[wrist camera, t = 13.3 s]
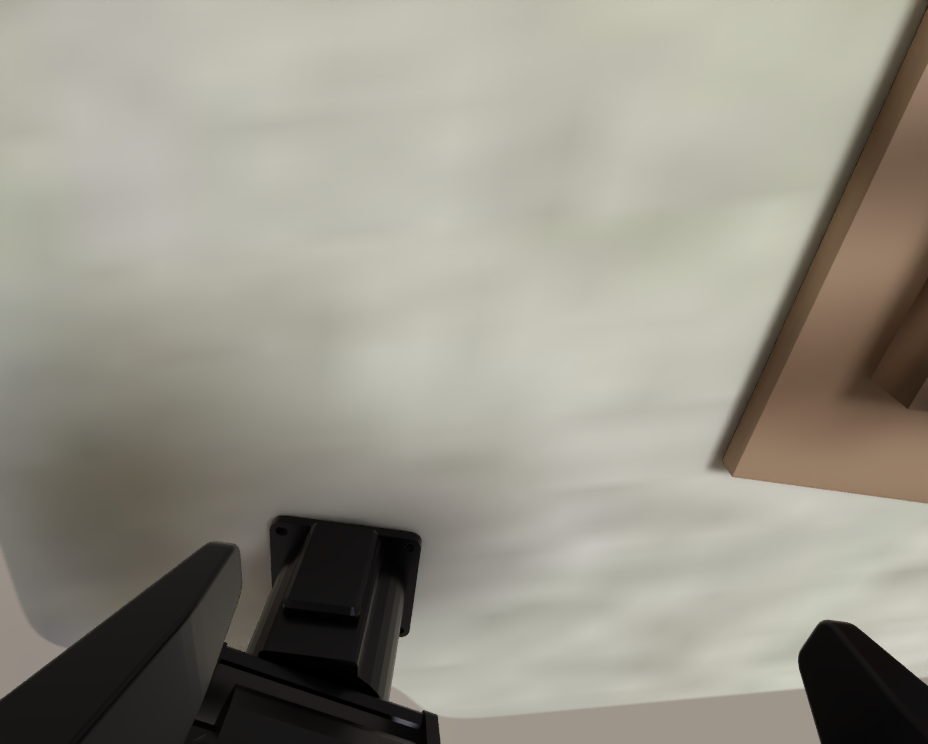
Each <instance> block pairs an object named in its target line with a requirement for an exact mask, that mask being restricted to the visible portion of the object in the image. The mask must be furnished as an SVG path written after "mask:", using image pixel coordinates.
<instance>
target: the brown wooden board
mask: <svg viewBox="0 0 928 744" xmlns="http://www.w3.org/2000/svg"><path fill="white" fill-rule="evenodd" d="M722 461H723V462H724V464H725V466H726V467H727V469H728V471H729V472H730V474H731V476H732V477H737V478H745V479H752V480H759V481H767V482H774V483H781V484H789V485H796V486H803V487H811V488H818V489H825V490H833V491H840V492H847V493H855V494H862V495H870V496H877V497H884V498H892V499H899V500H906V501H914V502H921V503H928V8H927V10H926V12H925V15H924V17H923V19H922V21H921V24H920V26H919V28H918V30H917V32H916V35H915V37H914V39H913V41H912V43H911V46H910V48H909V50H908V52H907V54H906V57H905V59H904V61H903V63H902V65H901V68H900V70H899V72H898V74H897V76H896V79H895V81H894V83H893V85H892V87H891V90H890V92H889V94H888V96H887V98H886V101H885V103H884V105H883V107H882V110H881V112H880V114H879V116H878V118H877V121H876V123H875V125H874V127H873V129H872V132H871V134H870V136H869V138H868V140H867V143H866V145H865V147H864V149H863V151H862V154H861V156H860V158H859V160H858V162H857V165H856V167H855V169H854V171H853V173H852V176H851V178H850V180H849V182H848V184H847V187H846V189H845V191H844V193H843V196H842V198H841V200H840V202H839V204H838V207H837V209H836V211H835V213H834V215H833V218H832V220H831V222H830V224H829V226H828V229H827V231H826V233H825V235H824V237H823V240H822V242H821V244H820V246H819V248H818V251H817V253H816V255H815V257H814V259H813V262H812V264H811V266H810V268H809V270H808V273H807V275H806V277H805V279H804V282H803V284H802V286H801V288H800V290H799V293H798V295H797V297H796V299H795V301H794V304H793V306H792V308H791V310H790V312H789V315H788V317H787V319H786V321H785V323H784V326H783V328H782V330H781V332H780V334H779V337H778V339H777V341H776V343H775V345H774V348H773V350H772V352H771V354H770V356H769V359H768V361H767V363H766V365H765V368H764V370H763V372H762V374H761V376H760V379H759V381H758V383H757V385H756V387H755V390H754V392H753V394H752V396H751V398H750V401H749V403H748V405H747V407H746V409H745V412H744V414H743V416H742V418H741V420H740V423H739V425H738V427H737V429H736V431H735V434H734V436H733V438H732V440H731V442H730V445H729V447H728V449H727V451H726V454H725V456H724V458H723V460H722Z"/></svg>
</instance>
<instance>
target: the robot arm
mask: <svg viewBox="0 0 928 744" xmlns="http://www.w3.org/2000/svg"><path fill="white" fill-rule="evenodd" d="M281 527H284V528H285V529H283V528H281ZM408 543H410V544H413V545H408ZM421 544H422V540H421V538H420V536H419V535H417V534H415V533H412V532H404V531H397V530H389V529H381V528H374V527H366V526H358V525H351V524H343V523H335V522H328V521H320V520H312V519H304V518H297V517H289V516H278V517H276V518H275V519H274V520H273V522H272V524H271V527H270V548H271V572H272V590H271V593H270V595H269V598H268V600H267V602H266V605H265V607H264V610H263V612H262V614H261V617H260V619H259V622H258V624H257V626H256V629H255V631H254V634H253V636H252V638H251V641H250V643H249V645H248V648H247V650H246V653H245V652H243V651H240V650H237V649H234V648H231V647H228V646H227V643H225V642H224V640H225V637H226V634H227V632H228V629H229V626H230V623H231V620H232V617H233V614H234V612H235V609H236V606H237V603H238V600H239V597H240V593H241V588H242V573H241V560H240V550H239V547H238V546H237V545H236V544H232V543H224V542H217V541H212V542H209V543H207V544H205V545H204V546H203V547H201V548H200V549H199V550H197V551H196V552H195V553H193V554H192V555H191V556H189V557H188V558H187V559H185V560H184V561H183V562H181V563H180V564H179V565H177V566H176V567H175V568H174V569H172V570H171V571H170V572H168V573H167V574H166V575H164V576H163V577H162V578H160V579H159V580H158V581H156V582H155V583H154V584H152V585H151V586H150V587H148V588H147V589H146V590H145V591H143V592H142V593H141V594H139V595H138V596H137V597H135V598H134V599H133V600H131V601H130V602H129V603H127V604H126V605H125V606H123V607H122V608H121V609H119V610H118V611H117V612H115V613H114V614H113V615H112V616H110V617H109V618H108V619H106V620H105V621H104V622H102V623H101V624H100V625H98V626H97V627H96V628H94V629H93V630H92V631H90V632H89V633H88V634H86V635H85V636H84V637H83V638H81V639H80V640H79V641H77V642H76V643H75V644H73V645H72V646H71V647H69V648H68V649H67V650H65V651H64V652H63V653H62V654H60V655H59V656H58V657H56V658H55V659H53V660H52V661H51V662H50V663H48V664H47V665H46V666H44V667H43V668H42V669H40V670H39V671H38V672H36V673H35V674H34V675H32V676H31V677H30V678H28V679H27V680H26V681H24V682H23V683H22V684H21V685H19V686H18V687H17V688H15V689H14V690H13V691H12V692H10V693H9V694H7V695H6V696H5V697H3V698H2V699H1V700H0V744H440V734H439V724H438V716H437V715H436V714H433V713H431V712H428V711H425V710H423V711H422V712H419V711H416V710H413V709H410V708H407V707H404V706H401V705H399V704H395V703H393V702H390V701H389V696H390V689H391V683H392V677H393V671H394V664H395V658H396V652H397V645H398V639H399V637H404V636H406V635H408V633H409V630H410V623H411V616H412V609H413V602H414V594H415V587H416V580H417V573H418V566H419V559H420V552H421ZM798 665H799V670H800V674H801V677H802V680H803V684H804V687H805V691H806V694H807V697H808V701H809V705H810V708H811V711H812V715H813V718H814V722H815V725H816V729H817V732H818V735H819V739H820V742H821V744H928V686H927V685H926V684H925V683H924V682H922V681H921V680H920V679H919V678H918V677H917V676H915V675H914V674H913V673H912V672H910V671H909V670H908V669H907V668H906V667H904V666H903V665H902V664H901V663H900V662H898V661H897V660H896V659H895V658H894V657H892V656H891V655H890V654H889V653H888V652H886V651H885V650H884V649H883V648H882V647H880V646H879V645H878V644H877V643H876V642H874V641H873V640H872V639H871V638H870V637H868V636H867V635H866V634H865V633H864V632H862V631H861V630H860V629H859V628H857V627H856V626H855V625H853V624H850V623H847V622H841V621H833V620H823V621H821V622H820V623H819V624H818V625H817V626H816V628H815V629H814V630H813V632H812V633H811V635H810V636H809V638H808V639H807V641H806V642H805V644H804V645H803V647H802V648H801V650H800V652H799V656H798Z"/></svg>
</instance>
